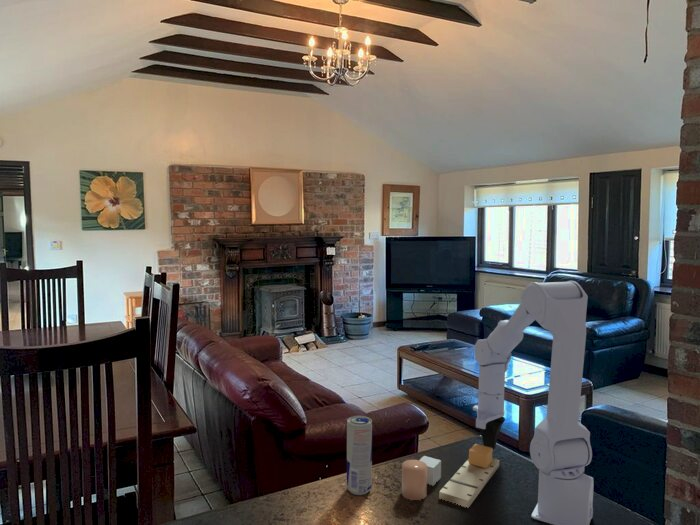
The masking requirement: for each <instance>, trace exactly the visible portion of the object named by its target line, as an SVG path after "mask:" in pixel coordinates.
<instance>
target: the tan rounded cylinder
mask: <svg viewBox="0 0 700 525" xmlns="http://www.w3.org/2000/svg"><path fill="white" fill-rule="evenodd" d="M419 460H420V459H419ZM419 460H418V459H407V460H405V461H403V462H402V464H401V496H402V497H403V498H404V499H406V500H408V499H409V501H413V500H419V501H422V500H421V499H423V500H424V499H426V498H425V497H427V492H428V491H427V490H428V488H427V487H428V484H427V465H426V463H424V462H422V461H419Z"/></svg>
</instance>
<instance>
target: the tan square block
mask: <svg viewBox="0 0 700 525" xmlns="http://www.w3.org/2000/svg"><path fill="white" fill-rule="evenodd" d="M493 453H494V450H493V448H491V447H487V446H484V444H478V443H475V444H474V445H472V447H470V448H469V450H468V459H469V464H473V465H476V466H480V467H484V468H487V467H488V466H489V465H490V463H491V462H492V458H493Z"/></svg>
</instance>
